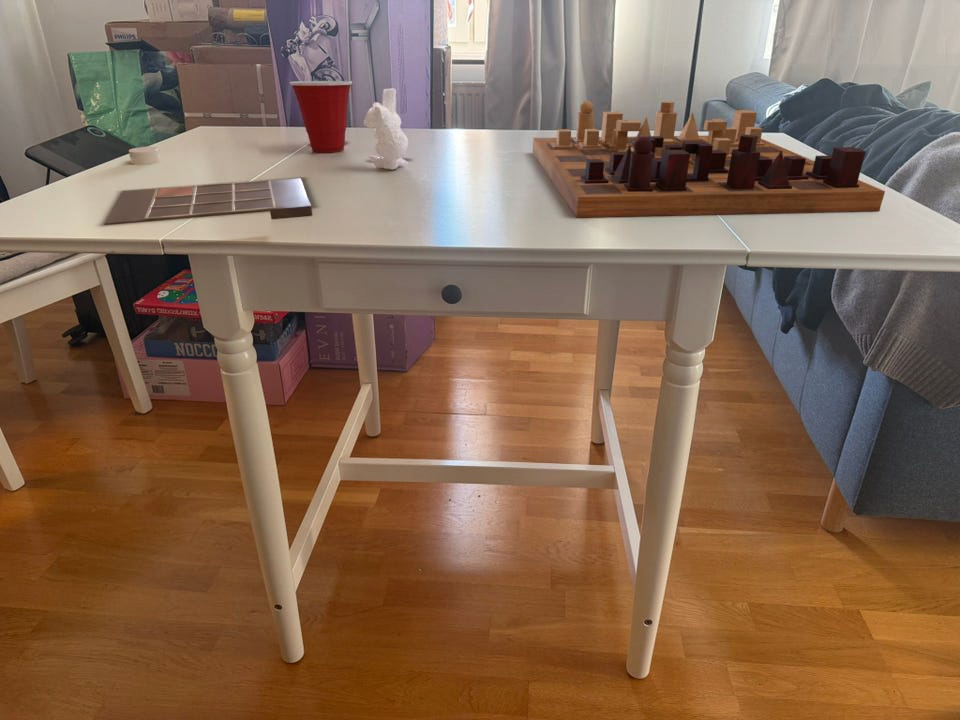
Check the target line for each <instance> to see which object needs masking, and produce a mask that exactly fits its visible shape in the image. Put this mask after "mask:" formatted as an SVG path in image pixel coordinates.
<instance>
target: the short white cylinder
mask: <svg viewBox="0 0 960 720" xmlns="http://www.w3.org/2000/svg"><path fill="white" fill-rule="evenodd" d="M128 155H129V159H130V162H131V164H132V165H135V166H136V165H137V166H146V165H147V166H148V165H153V164H158V163H160V162H161V161H162V159H161V155H160V151H159V147H156V146H141V147H139V146H138V147H134V148H130V149H128Z"/></svg>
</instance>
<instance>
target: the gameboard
mask: <svg viewBox="0 0 960 720" xmlns="http://www.w3.org/2000/svg"><path fill="white" fill-rule="evenodd" d="M674 106H675V101H668V100H665V101H661V104H660V110H659V111H658V110H657V111H656V113H655V122H654V129H653V135H652V134H651V130H650V125H649V121H648V118H647V116H646V117H645V119H644V121H643V123H642V122H641V121H639V120H628V119H624V118H623V117H624V113H622V112H621V111H620V110H619V111H603V112H602V121H601V135H600V130H599V129H597V128H594V127H595V126H594V124H595V112H594V105H593V103H592V102H591V101H590V100H584V101H582V102H581V103H580V104H579V107H578V109H579V112H577V121H576V123H577V124H576V136H575V137H573V136H572V130H570V128H561V129H559V128H558V129H556V137H533V138H532V154H533V156H534V158H535V159H536V158H537V159H536V160H537V162H538V163H539V164H540V167H542V169H543V170H544V172H545V174H546V175H547V176H548V178H549V179H550V181H551V180H552V181H551V182H552V184H553V183H554V184H553V185H554V186H555V188H556V190H557V191H558V192H559V194H560V195H561V197H562V198H563V200H564V201H565V203H566V204H567V205H568V207H569V209H570V210H571V211H572V213H573V215H574V216H575V217H576V218H611V217H612V218H613V217H619V218H620V217H655V216H656V217H658V216H659V217H661V216H706V215H707V216H709V215H713V216H714V215H754V214H756V215H757V214H759V215H760V214H761V215H762V214H802V213H804V214H805V213H807V214H808V213H848V212H849V213H850V212H852V213H853V212H854V213H855V212H880V211H881V207H882V203H883V200H884V196H885V193H886V190H884V189H881V188H879V187H877V186H874V185H872V184H869V183H866V182H865V181H862V180H861V179H859V178H860V175H861V171H862V168H863V167H862V166H863V163H864V159H865V156H866V151H865V150H862V149H860V148H857V147H854V146H850V147H849V146H847V147H842V146H841V147H833V149H832V154H831V155H815V158H814V160H813V159H811V158H808V157H806V156H804V155H802V154H799V153H796V152H794V151H792V150H789V149H787V148H784V147H782V146H779V145H777V144H775V143H773V142H770V141H768V140H766V139H763V138H762V134H763V128H761V127H758V126H755V125H756V120H757V114H758V112H757V111H753V110H751V109H737V110H734V113H733V118H732V126H728V121H727V120H724V119H722V118H710V120H704V124H703V130H704V131H707V132H708V135H700V134H699V132H698V127H697V123H696V119H695V115H694V112H693V111H692V112H691V114H690V116H689V117H688V120H687V121H686V122H685V125H684V126H683V128H682V129H681V132H680V134H679V135H675V132H676V123H677V117H678V112H675V111H674V109H675V107H674ZM629 132H637V135H636V136H628V135H629Z"/></svg>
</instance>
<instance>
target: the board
mask: <svg viewBox="0 0 960 720" xmlns="http://www.w3.org/2000/svg"><path fill="white" fill-rule="evenodd" d="M264 212H269V214H270V219H272V220H273V219H274V220H275V219H285V218H294V217H296V218H297V217H308V216H313V209H312V204H311V202H310V199H309V197H308V194H307V191H306V188H305V186H304V183H303V180H302V178H301V177H295V178H294V177H293V178H281V179H264V180H251V181H250V180H249V181H238V182H223V183H209V184H195V185H181V186H170V187H157V188H156V187H155V188H145V189H143V188H142V189H130V190H122V191H121V193H120V195H119V197H118V199H117V201H116V202H115V203H114V206H113V208H112V209H111V211H110V213H109V215H108V217H106V220H105V221H104V223H103V225H104V226H110V225H111V226H112V225H122V224H135V223H146V222H157V221H168V220H169V221H170V220H181V219H194V218H204V217H205V218H206V217H217V216H227V215H240V214H241V215H242V214H251V213H264Z"/></svg>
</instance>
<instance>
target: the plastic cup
mask: <svg viewBox="0 0 960 720" xmlns="http://www.w3.org/2000/svg"><path fill="white" fill-rule="evenodd" d="M289 84H290V86H291V87H292V88H293V91H294V94H295V97H296V100H297V102H298V106H299V109H300V113H301V116H302V120H303V124H304V128H305V131H306V134H307V136H308V140H309V145H310V147H311V150H312V152H314V153H320V154H321V153H322V154H323V153H324V154H326V153H328V154H329V153H337V152H342V151H343V150H345V144H346V131H347V120H348V118H347V117H348V104H349V103H348V101H349V97H350V89H351V85H352V84H353V81H352V80H308V81H307V80H305V81H303V80H302V81H289Z"/></svg>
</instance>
